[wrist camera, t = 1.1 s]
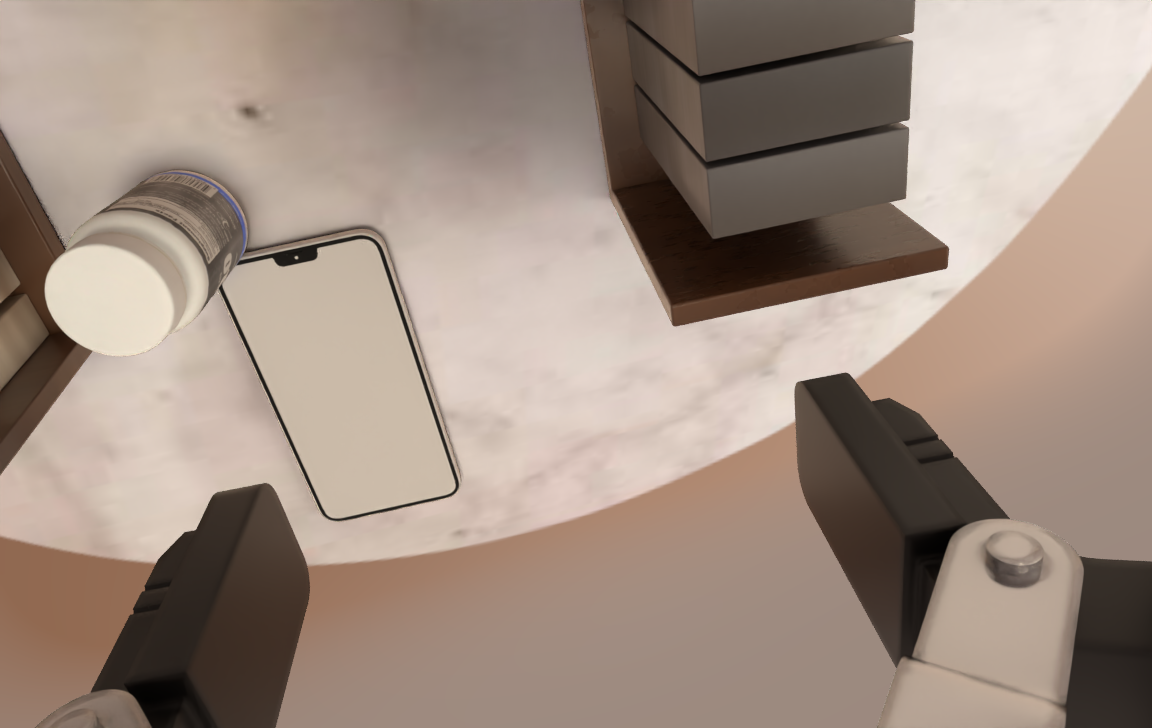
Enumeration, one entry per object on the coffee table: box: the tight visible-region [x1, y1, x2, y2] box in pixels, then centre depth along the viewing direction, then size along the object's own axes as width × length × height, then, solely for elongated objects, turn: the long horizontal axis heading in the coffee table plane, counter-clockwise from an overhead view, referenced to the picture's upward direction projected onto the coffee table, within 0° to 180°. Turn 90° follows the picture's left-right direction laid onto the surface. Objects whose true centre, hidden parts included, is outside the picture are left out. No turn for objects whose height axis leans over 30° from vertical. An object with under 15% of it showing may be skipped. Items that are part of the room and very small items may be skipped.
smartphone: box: [218, 229, 461, 522], centre depth 39 cm, size 7×1×15 cm
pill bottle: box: [45, 170, 248, 356], centre depth 31 cm, size 5×5×8 cm
